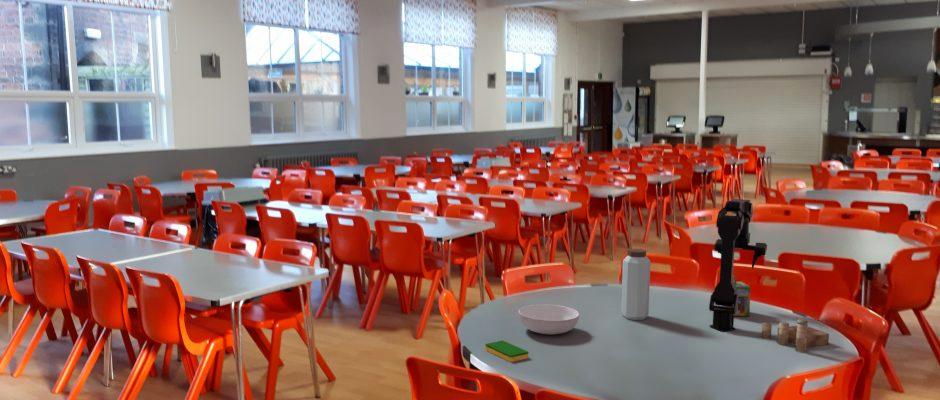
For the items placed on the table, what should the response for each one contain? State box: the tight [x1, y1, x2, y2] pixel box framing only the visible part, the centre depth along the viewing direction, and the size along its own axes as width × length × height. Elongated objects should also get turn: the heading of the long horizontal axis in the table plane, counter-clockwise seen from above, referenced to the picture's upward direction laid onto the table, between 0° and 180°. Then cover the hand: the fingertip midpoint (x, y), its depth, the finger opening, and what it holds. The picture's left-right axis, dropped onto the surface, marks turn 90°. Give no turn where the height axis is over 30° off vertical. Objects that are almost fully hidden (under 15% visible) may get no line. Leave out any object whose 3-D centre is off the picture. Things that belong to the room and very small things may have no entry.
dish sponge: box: [484, 340, 529, 363], centre depth 234 cm, size 7×14×2 cm, turn 34°
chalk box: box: [718, 275, 751, 317], centre depth 281 cm, size 9×9×15 cm
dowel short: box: [761, 321, 773, 340], centre depth 252 cm, size 3×3×5 cm
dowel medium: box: [777, 321, 790, 346], centre depth 245 cm, size 3×3×7 cm
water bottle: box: [620, 248, 651, 321], centre depth 274 cm, size 10×10×25 cm
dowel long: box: [795, 318, 809, 353], centre depth 238 cm, size 3×3×10 cm
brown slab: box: [777, 325, 830, 348], centre depth 249 cm, size 11×11×4 cm
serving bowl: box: [518, 303, 580, 336], centre depth 258 cm, size 21×21×7 cm
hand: (740, 266), depth 291 cm, fingers open, 9 cm apart
